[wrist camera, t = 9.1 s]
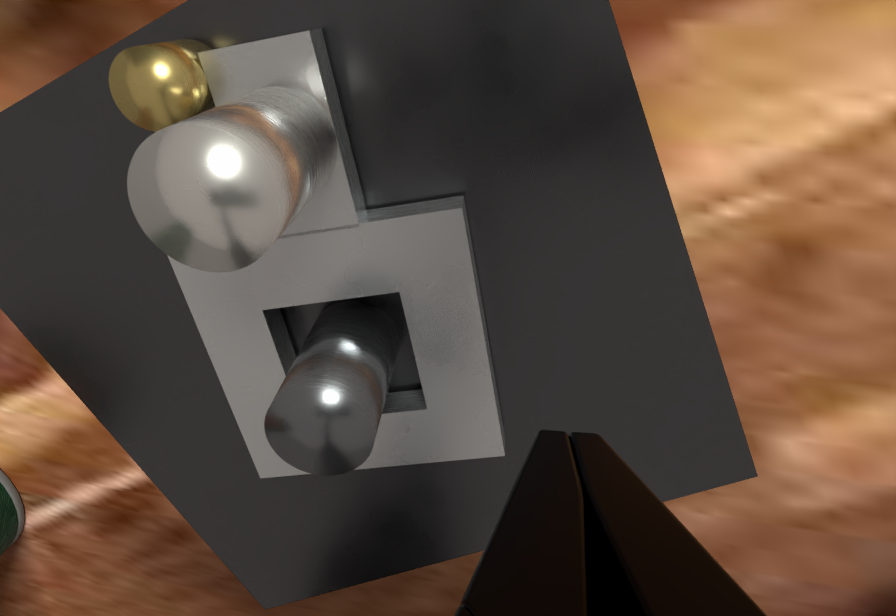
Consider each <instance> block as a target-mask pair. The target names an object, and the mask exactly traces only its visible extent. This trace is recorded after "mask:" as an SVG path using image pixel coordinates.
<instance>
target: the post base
mask: <svg viewBox="0 0 896 616" xmlns="http://www.w3.org/2000/svg"><path fill="white" fill-rule="evenodd" d="M319 28H321V29H322V33H323V37H324V41H325V45H326V49H327V53H328V57H329V61H330V65H331V69H332V73H333V77H334V81H335V85H336V89H337V93H338V97H339V102H340V106H341V110H342V114H343V118H344V122H345V126H346V130H347V134H348V138H349V142H350V146H351V150H352V154H353V158H354V162H355V166H356V170H357V174H358V178H359V182H360V186H361V190H362V194H363V198H364V202H365V206H366V210H371V209H377V208H384V207H390V206H397V205H403V204H410V203H416V202H423V201H429V200H436V199H442V198H449V197H455V196H462V195H464V199H465V205H466V211H467V217H468V222H469V228H470V234H471V240H472V246H473V252H474V258H475V264H476V269H477V275H478V281H479V287H480V293H481V299H482V305H483V311H484V316H485V322H486V328H487V334H488V340H489V346H490V352H491V358H492V363H493V369H494V375H495V381H496V387H497V393H498V399H499V405H500V410H501V416H502V422H503V428H504V437H505V456H498V457H487V458H477V459H466V460H455V461H444V462H433V463H422V464H411V465H401V466H390V467H379V468H368V469H357V470H354V469H356V468H358V467H359V466H360V465H362V464H363V463H364V462H365V461H366V460H367V458H368V457H369V456H370V454H371V452H372V449H373V446H374V442H375V438H376V434H377V430H378V427H379V423H380V419H381V415H382V411H383V408H384V404H385V400H386V396H387V393H393V392H402V391H411V390H420V389H422V385H421V381H420V377H419V372H418V368H417V364H416V360H415V356H414V351H413V347H412V343H411V339H410V335H409V330H408V326H407V322H406V318H405V313H404V309H403V305H402V301H401V297H400V292H395V293H388V294H380V295H373V296H365V297H358V298H350V299H343V300H335V301H328V302H320V303H313V304H305V305H298V306H290V307H282V308H280V311H281V314H282V317H283V320H284V322H285V325H286V328H287V331H288V334H289V337H290V340H291V343H292V346H293V349H294V352H295V355H296V358H295V360H294V362H293V364H292V366H291V368H290V370H289V371H288V373H287V375H286V377H285V379H284V381H283V383H282V384H281V386H280V388H279V390H278V392H277V394H276V396H275V397H274V399H273V401H272V403H271V405H270V407H269V408H268V410H267V413H266V416H265V421H264V429H265V434H266V438H267V440H268V442H269V444H270V446H271V447H272V449H273V450H274V451H275V453H276V454H277V455H278V456H279V457H280V458H281V459H282V460H284V461H285V462H286V463H288V464H289V465H291V466H293V467H295V468H297V469H299V470H301V471H304V472H307V473H311V474H303V475H292V476H281V477H270V478H260V476H259V474H258V472H257V469H256V467H255V464H254V462H253V460H252V457H251V455H250V452H249V450H248V448H247V445H246V443H245V440H244V438H243V436H242V433H241V431H240V428H239V426H238V424H237V421H236V419H235V416H234V414H233V412H232V409H231V407H230V404H229V402H228V400H227V397H226V395H225V392H224V390H223V388H222V385H221V383H220V380H219V378H218V376H217V373H216V371H215V368H214V366H213V364H212V361H211V359H210V356H209V354H208V352H207V349H206V347H205V345H204V342H203V340H202V337H201V335H200V333H199V330H198V328H197V325H196V323H195V321H194V318H193V316H192V313H191V311H190V309H189V306H188V304H187V301H186V299H185V297H184V294H183V292H182V289H181V287H180V285H179V282H178V280H177V277H176V275H175V273H174V270H173V268H172V265H171V263H170V261H169V258H168V256H167V254H165V253H164V252H163V251H162V250H160V249H159V248H158V247H157V246H156V245H155V244H154V243H153V242H152V241H151V240H150V239H149V238H148V236H147V235H146V234H145V233H144V231H143V230H142V228H141V227H140V225H139V223H138V221H137V219H136V217H135V215H134V213H133V210H132V208H131V205H130V201H129V197H128V189H127V176H128V170H129V166H130V163H131V160H132V157H133V155H134V154H135V152H136V150H137V149H138V147H139V146H140V145H141V143H142V142H143V141H144V140H146V139H147V138H148V137H149V136H150V135H152V134H153V133H155V132H157V131H159V130H161V129H164V128H166V127H168V126H171V125H173V124H176V123H178V122H180V121H183V120H185V119H188V118H190V117H193V116H195V115H197V114H200V113H202V112H205V111H207V110H210V109H212V108H214V107H216V106H215V103H214V100H213V97H212V94H211V91H210V88H209V85H208V83H207V80H206V77H205V74H204V71H203V68H202V65H201V62H200V59H199V56H198V53H199V52H203V51H208V50H213V49H218V48H223V47H228V46H233V45H238V44H243V43H248V42H253V41H258V40H263V39H268V38H273V37H278V36H283V35H288V34H294V33H299V32H304V31H309V30H314V29H319ZM0 308H1V309H2V310H3V312H4V313H5V314H6V315H7V316H8V317H9V318H10V320H11V321H12V322H13V323H14V324H15V325H16V326H17V328H18V329H19V330H20V331H21V332H22V333H23V334H24V336H25V337H26V338H27V339H28V340H29V341H30V342H31V343H32V345H33V346H34V347H35V348H36V349H37V350H38V351H39V353H40V354H41V355H42V356H43V357H44V358H45V359H46V361H47V362H48V363H49V364H50V365H51V366H52V367H53V369H54V370H55V371H56V372H57V373H58V374H59V375H60V377H61V378H62V379H63V380H64V381H65V382H66V383H67V385H68V386H69V387H70V388H71V389H72V390H73V391H74V393H75V394H76V395H77V396H78V397H79V398H80V399H81V401H82V402H83V403H84V404H85V405H86V406H87V407H88V408H89V410H90V411H91V412H92V413H93V414H94V415H95V416H96V418H97V419H98V420H99V421H100V422H101V423H102V424H103V426H104V427H105V428H106V429H107V430H108V431H109V432H110V434H111V435H112V436H113V437H114V438H115V439H116V440H117V442H118V443H119V444H120V445H121V446H122V447H123V448H124V450H125V451H126V452H127V453H128V454H129V455H130V456H131V458H132V459H133V460H134V461H135V462H136V463H137V464H138V466H139V467H140V468H141V469H142V470H143V471H144V472H145V473H146V475H147V476H148V477H149V478H150V479H151V480H152V481H153V483H154V484H155V485H156V486H157V487H158V488H159V489H160V491H161V492H162V493H163V494H164V495H165V496H166V497H167V499H168V500H169V501H170V502H171V503H172V504H173V505H174V507H175V508H176V509H177V510H178V511H179V512H180V513H181V515H182V516H183V517H184V518H185V519H186V520H187V521H188V523H189V524H190V525H191V526H192V527H193V528H194V529H195V531H196V532H197V533H198V534H199V535H200V536H201V537H202V538H203V540H204V541H205V542H206V543H207V544H208V545H209V546H210V548H211V549H212V550H213V551H214V552H215V553H216V554H217V556H218V557H219V558H220V559H221V560H222V561H223V562H224V564H225V565H226V566H227V567H228V568H229V569H230V570H231V572H232V573H233V574H234V575H235V576H236V577H237V578H238V580H239V581H240V582H241V583H242V584H243V585H244V586H245V588H246V589H247V590H248V591H249V592H250V593H251V594H252V596H253V597H254V598H255V599H256V600H257V601H258V602H259V604H260V605H261V606H262V607H263V608H264V609H268V608H272V607H276V606H280V605H283V604H287V603H291V602H294V601H298V600H302V599H305V598H309V597H313V596H317V595H320V594H324V593H328V592H331V591H335V590H339V589H342V588H346V587H350V586H354V585H357V584H361V583H365V582H368V581H372V580H376V579H379V578H383V577H387V576H391V575H394V574H398V573H402V572H405V571H409V570H413V569H416V568H420V567H424V566H428V565H431V564H435V563H439V562H442V561H446V560H450V559H453V558H457V557H461V556H465V555H468V554H472V553H476V552H479V551H483V550H485V547H486V545H487V543H488V541H489V538H490V536H491V534H492V532H493V530H494V527H495V525H496V523H497V521H498V518H499V516H500V514H501V512H502V509H503V507H504V505H505V503H506V501H507V498H508V496H509V494H510V492H511V489H512V487H513V485H514V483H515V480H516V478H517V476H518V474H519V472H520V469H521V467H522V465H523V463H524V460H525V458H526V456H527V454H528V452H529V449H530V447H531V445H532V443H533V440H534V438H535V436H536V434H537V432H538V431H539V430H556V431H565V432H566V433H567V434H568V435H569V434H570V433H571V432H585V433H596V434H599V435H600V436H601V437H602V438H603V439H604V440H605V441H606V442H607V443H608V444H609V445H610V446H611V447H612V448H613V449H614V451H615V452H616V453H617V454H618V455H619V456H620V457H621V458H622V459H623V460H624V461H625V462H626V464H627V465H628V466H629V467H630V468H631V469H632V470H633V471H634V472H635V473H636V474H637V475H638V477H639V478H640V479H641V480H642V481H643V482H644V483H645V484H646V485H647V486H648V487H649V488H650V490H651V491H652V492H653V493H654V494H655V495H656V496H657V497H658V498H659V499H660V500H661V501H662V502H664V501H668V500H672V499H676V498H679V497H683V496H687V495H690V494H694V493H698V492H702V491H705V490H709V489H713V488H716V487H720V486H724V485H727V484H731V483H735V482H739V481H742V480H746V479H750V478H753V477H757V473H756V469H755V466H754V463H753V460H752V457H751V453H750V450H749V447H748V444H747V441H746V437H745V434H744V431H743V428H742V425H741V421H740V418H739V415H738V412H737V409H736V405H735V402H734V399H733V396H732V393H731V389H730V386H729V383H728V380H727V377H726V373H725V370H724V367H723V364H722V361H721V357H720V354H719V351H718V348H717V345H716V341H715V338H714V335H713V332H712V329H711V325H710V322H709V319H708V316H707V313H706V309H705V306H704V303H703V300H702V297H701V293H700V290H699V287H698V284H697V281H696V277H695V274H694V271H693V268H692V265H691V261H690V258H689V255H688V252H687V249H686V245H685V242H684V239H683V236H682V233H681V229H680V226H679V223H678V220H677V217H676V214H675V210H674V207H673V204H672V201H671V198H670V194H669V191H668V188H667V185H666V182H665V178H664V175H663V172H662V169H661V166H660V162H659V159H658V156H657V153H656V150H655V146H654V143H653V140H652V137H651V134H650V130H649V127H648V124H647V121H646V118H645V114H644V111H643V108H642V105H641V102H640V98H639V95H638V92H637V89H636V86H635V82H634V79H633V76H632V73H631V70H630V66H629V63H628V60H627V57H626V54H625V50H624V47H623V44H622V41H621V38H620V34H619V31H618V28H617V25H616V22H615V18H614V15H613V12H612V9H611V6H610V2H609V0H188V1H186V2H185V3H183V4H181V5H180V6H178V7H176V8H175V9H173V10H171V11H170V12H168V13H166V14H165V15H163V16H161V17H160V18H158V19H156V20H154V21H153V22H151V23H149V24H148V25H146V26H144V27H143V28H141V29H139V30H138V31H136V32H134V33H133V34H131V35H129V36H128V37H126V38H124V39H123V40H121V41H119V42H118V43H116V44H114V45H113V46H111V47H109V48H108V49H106V50H104V51H102V52H101V53H99V54H97V55H96V56H94V57H92V58H91V59H89V60H87V61H86V62H84V63H82V64H81V65H79V66H77V67H76V68H74V69H72V70H71V71H69V72H67V73H66V74H64V75H62V76H61V77H59V78H57V79H56V80H54V81H52V82H51V83H49V84H47V85H45V86H44V87H42V88H40V89H39V90H37V91H35V92H34V93H32V94H30V95H29V96H27V97H25V98H24V99H22V100H20V101H19V102H17V103H15V104H14V105H12V106H10V107H9V108H7V109H5V110H4V111H2V112H0Z"/></svg>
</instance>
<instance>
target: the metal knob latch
mask: <svg viewBox="0 0 896 616" xmlns="http://www.w3.org/2000/svg"><path fill="white" fill-rule="evenodd" d="M198 56H199V59H200V62H201V65H202V68H203V71H204V74H205V77H206V80H207V83H208V85H209V88H210V91H211V94H212V97H213V100H214V103H215V106H216V107H214V108H212V109H210V110H207V111H205V112H202V113H200V114H197V115H195V116H193V117H190V118H188V119H185V120H183V121H180V122H178V123H176V124H173V125H171V126H168V127H166V128H164V129H161V130H159V131H157V132H155V133H153V134H152V135H150V136H149V137H148V138H147V139H146V140H144V141H143V142H142V143H141V145H140V146H139V147H138V149H137V150H136V152H135V154H134V155H133V157H132V160H131V163H130V166H129V170H128V176H127V189H128V197H129V201H130V205H131V208H132V210H133V213H134V215H135V217H136V219H137V221H138V223H139V225H140V227H141V228H142V230H143V231H144V233H145V234H146V235H147V236H148V238H149V239H150V240H151V241H152V242H153V243H154V244H155V245H156V246H157V247H158V248H159V249H160V250H162V251H163V252H164V253H165V254H167V256H168V258H169V261H170V263H171V265H172V268H173V270H174V273H175V275H176V277H177V280H178V282H179V285H180V287H181V289H182V292H183V294H184V297H185V299H186V301H187V304H188V306H189V309H190V311H191V313H192V316H193V318H194V321H195V323H196V325H197V328H198V330H199V333H200V335H201V337H202V340H203V342H204V345H205V347H206V349H207V352H208V354H209V356H210V359H211V361H212V364H213V366H214V368H215V371H216V373H217V376H218V378H219V380H220V383H221V385H222V388H223V390H224V392H225V395H226V397H227V400H228V402H229V404H230V407H231V409H232V412H233V414H234V416H235V419H236V421H237V424H238V426H239V428H240V431H241V433H242V436H243V438H244V440H245V443H246V445H247V448H248V450H249V452H250V455H251V457H252V460H253V462H254V464H255V467H256V469H257V472H258V474H259V476H260V478H270V477H281V476H292V475H303V474H311V473H307V472H304V471H301V470H299V469H297V468H295V467H293V466H291V465H289V464H288V463H286V462H285V461H284V460H282V459H281V458H280V457H279V456H278V455H277V454H276V453H275V451H274V450H273V449H272V447H271V446H270V444H269V442H268V440H267V438H266V434H265V429H264V421H265V416H266V413H267V410H268V408H269V407H270V405H271V403H272V401H273V399H274V397H275V396H276V394H277V392H278V390H279V388H280V386H281V384H282V383H283V381H284V379H285V377H286V375H287V373H288V371H289V370H290V368H291V366H292V364H293V362H294V360H295V358H296V355H295V352H294V349H293V346H292V343H291V340H290V337H289V334H288V331H287V328H286V325H285V322H284V320H283V317H282V314H281V311H280V308H282V307H290V306H298V305H305V304H313V303H320V302H328V301H335V300H343V299H350V298H358V297H365V296H373V295H380V294H388V293H395V292H400V297H401V301H402V305H403V309H404V313H405V318H406V322H407V326H408V330H409V335H410V339H411V343H412V347H413V351H414V356H415V360H416V364H417V368H418V372H419V377H420V381H421V385H422V389H420V390H411V391H402V392H393V393H387V396H386V400H385V404H384V408H383V411H382V415H381V419H380V423H379V427H378V430H377V434H376V438H375V442H374V446H373V449H372V452H371V454H370V456H369V457H368V458H367V460H366V461H365V462H364V463H363V464H362V465H360V466H359V467H358V468H356V469H354V470H357V469H368V468H379V467H390V466H401V465H411V464H422V463H433V462H444V461H455V460H466V459H477V458H487V457H498V456H505V437H504V428H503V422H502V416H501V410H500V405H499V399H498V393H497V387H496V381H495V375H494V369H493V363H492V358H491V352H490V346H489V340H488V334H487V328H486V322H485V316H484V311H483V305H482V299H481V293H480V287H479V281H478V275H477V269H476V264H475V258H474V252H473V246H472V240H471V234H470V228H469V222H468V217H467V211H466V205H465V199H464V195H462V196H455V197H449V198H442V199H436V200H429V201H423V202H416V203H410V204H403V205H397V206H390V207H384V208H377V209H371V210H366V206H365V202H364V198H363V194H362V190H361V186H360V182H359V178H358V174H357V170H356V166H355V162H354V158H353V154H352V150H351V146H350V142H349V138H348V134H347V130H346V126H345V122H344V118H343V114H342V110H341V106H340V102H339V97H338V93H337V89H336V85H335V81H334V77H333V73H332V69H331V65H330V61H329V57H328V53H327V49H326V45H325V41H324V37H323V33H322V29H321V28H319V29H314V30H309V31H304V32H299V33H294V34H288V35H283V36H278V37H273V38H268V39H263V40H258V41H253V42H248V43H243V44H238V45H233V46H228V47H223V48H218V49H213V50H208V51H203V52H199V53H198Z"/></svg>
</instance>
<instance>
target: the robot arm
mask: <svg viewBox="0 0 896 616" xmlns="http://www.w3.org/2000/svg"><path fill="white" fill-rule="evenodd" d="M454 616H767V615H766V614H765V613H764V612H763V611H762V610H761V609H760V608H759V607H758V605H757V604H756V603H755V602H754V601H753V600H752V599H751V598H750V597H749V596H748V595H747V594H746V592H745V591H744V590H743V589H742V588H741V587H740V586H739V585H738V584H737V583H736V582H735V581H734V579H733V578H732V577H731V576H730V575H729V574H728V573H727V572H726V571H725V570H724V569H723V568H722V566H721V565H720V564H719V563H718V562H717V561H716V560H715V559H714V558H713V557H712V556H711V555H710V553H709V552H708V551H707V550H706V549H705V548H704V547H703V546H702V545H701V544H700V543H699V542H698V540H697V539H696V538H695V537H694V536H693V535H692V534H691V533H690V532H689V531H688V530H687V529H686V527H685V526H684V525H683V524H682V523H681V522H680V521H679V520H678V519H677V518H676V517H675V516H674V514H673V513H672V512H671V511H670V510H669V509H668V508H667V507H666V506H665V505H664V504H663V503H662V501H661V500H660V499H659V498H658V497H657V496H656V495H655V494H654V493H653V492H652V491H651V490H650V488H649V487H648V486H647V485H646V484H645V483H644V482H643V481H642V480H641V479H640V478H639V477H638V475H637V474H636V473H635V472H634V471H633V470H632V469H631V468H630V467H629V466H628V465H627V464H626V462H625V461H624V460H623V459H622V458H621V457H620V456H619V455H618V454H617V453H616V452H615V451H614V449H613V448H612V447H611V446H610V445H609V444H608V443H607V442H606V441H605V440H604V439H603V438H602V437H601V436H600V435H599V434H596V433H585V432H571V433H570V434H569V435H568V434H567V433H566V432H565V431H556V430H539V431H538V432H537V434H536V436H535V438H534V440H533V443H532V445H531V447H530V449H529V452H528V454H527V456H526V458H525V460H524V463H523V465H522V467H521V469H520V472H519V474H518V476H517V478H516V480H515V483H514V485H513V487H512V489H511V492H510V494H509V496H508V498H507V501H506V503H505V505H504V507H503V509H502V512H501V514H500V516H499V518H498V521H497V523H496V525H495V527H494V530H493V532H492V534H491V536H490V538H489V541H488V543H487V545H486V547H485V550H484V552H483V554H482V556H481V559H480V561H479V563H478V565H477V567H476V570H475V572H474V574H473V576H472V579H471V581H470V583H469V585H468V588H467V590H466V592H465V594H464V596H463V599H462V601H461V605H460V607H458V609H457V611H456V613H455V615H454Z"/></svg>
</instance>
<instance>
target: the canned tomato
mask: <svg viewBox="0 0 896 616" xmlns="http://www.w3.org/2000/svg"><path fill="white" fill-rule="evenodd" d="M24 520H25V515H24V508H23V504H22V501H21V499H20V496H19V493H18V491H17V490H16V488H15V487H14V485H13V484H12V482H11V481H10V479H9V478H8V477H7V476H6V475H5V474H4V472H3V471H2V470H1V469H0V556H1V555H2V554H3V552H4V551H5V550H6V549H7V548H8V547H10V546H11V545H12V544H13V543H14V542H15V541H16V540H17V539H18V537H19V535H20V533H21V531H22V530H23V526H24Z"/></svg>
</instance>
